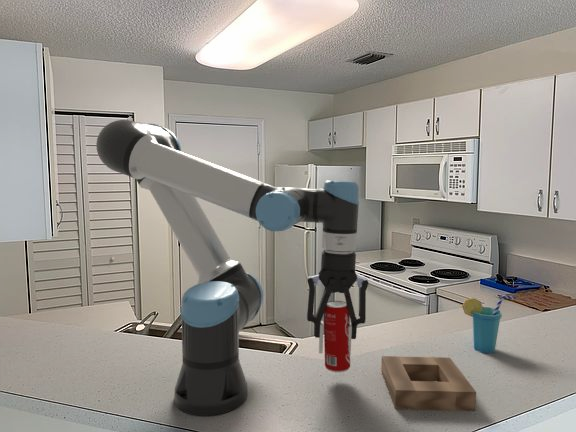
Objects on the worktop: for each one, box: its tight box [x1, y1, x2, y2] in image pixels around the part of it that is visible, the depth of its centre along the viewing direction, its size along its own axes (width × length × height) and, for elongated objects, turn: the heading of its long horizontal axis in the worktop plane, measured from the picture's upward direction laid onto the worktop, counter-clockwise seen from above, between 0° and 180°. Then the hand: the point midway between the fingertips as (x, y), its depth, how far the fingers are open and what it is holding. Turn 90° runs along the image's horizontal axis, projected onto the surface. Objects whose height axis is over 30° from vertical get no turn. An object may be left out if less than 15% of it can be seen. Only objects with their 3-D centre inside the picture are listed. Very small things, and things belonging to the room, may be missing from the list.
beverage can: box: [323, 300, 351, 373], centre depth 99 cm, size 6×6×15 cm
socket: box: [380, 355, 477, 412], centre depth 96 cm, size 16×16×4 cm
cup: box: [461, 294, 516, 354], centre depth 118 cm, size 14×8×15 cm, turn 96°
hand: (334, 351), depth 99 cm, fingers closed on beverage can, 6 cm apart
